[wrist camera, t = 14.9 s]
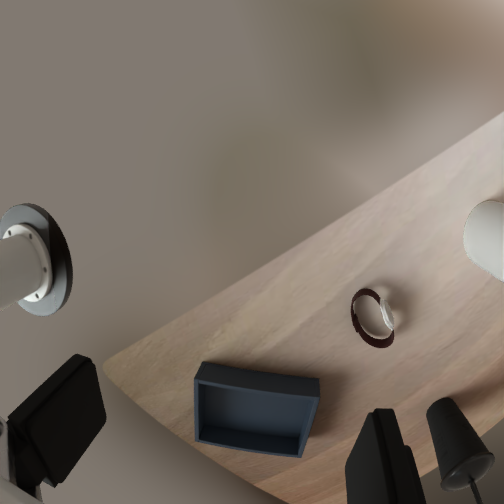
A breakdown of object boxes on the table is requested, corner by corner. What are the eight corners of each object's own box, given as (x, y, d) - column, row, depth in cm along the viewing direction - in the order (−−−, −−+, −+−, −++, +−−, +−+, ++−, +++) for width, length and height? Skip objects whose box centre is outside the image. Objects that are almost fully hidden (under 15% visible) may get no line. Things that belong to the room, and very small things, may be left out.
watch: (399, 328, 35) (408, 343, 32) (366, 347, 36) (371, 363, 33) (375, 277, 34) (382, 289, 30) (338, 297, 35) (342, 311, 32)
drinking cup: (451, 424, 38) (489, 518, 19) (411, 428, 39) (441, 533, 20) (469, 388, 36) (522, 483, 17) (427, 391, 37) (473, 501, 18)
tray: (201, 423, 43) (194, 441, 39) (202, 361, 40) (193, 378, 36) (301, 439, 41) (301, 458, 38) (319, 378, 38) (320, 397, 34)
